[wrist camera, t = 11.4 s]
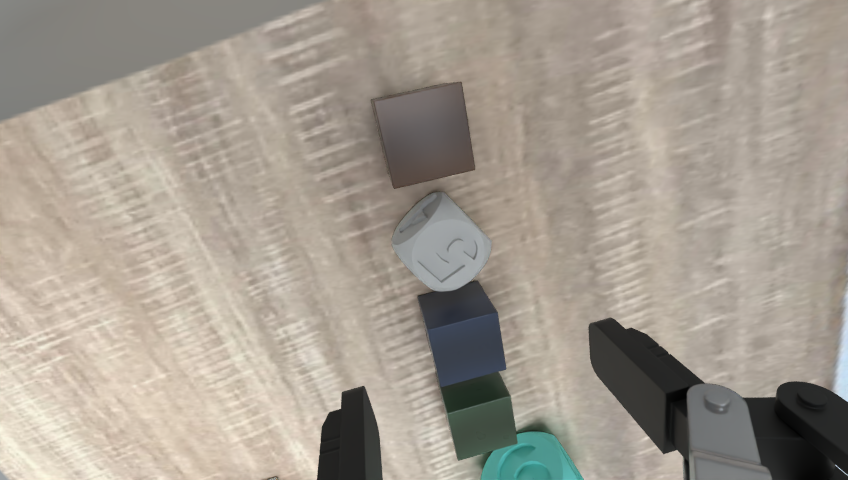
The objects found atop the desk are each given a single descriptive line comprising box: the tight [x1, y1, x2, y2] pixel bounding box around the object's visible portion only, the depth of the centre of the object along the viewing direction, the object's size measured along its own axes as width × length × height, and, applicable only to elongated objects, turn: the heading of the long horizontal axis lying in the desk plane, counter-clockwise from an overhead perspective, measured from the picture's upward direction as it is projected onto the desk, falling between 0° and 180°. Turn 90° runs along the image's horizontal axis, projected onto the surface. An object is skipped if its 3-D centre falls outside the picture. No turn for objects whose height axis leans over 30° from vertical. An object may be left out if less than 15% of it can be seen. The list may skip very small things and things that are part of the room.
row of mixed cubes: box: [371, 82, 518, 461], centre depth 29 cm, size 28×5×5 cm, turn 12°
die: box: [392, 192, 492, 292], centre depth 28 cm, size 5×5×5 cm
